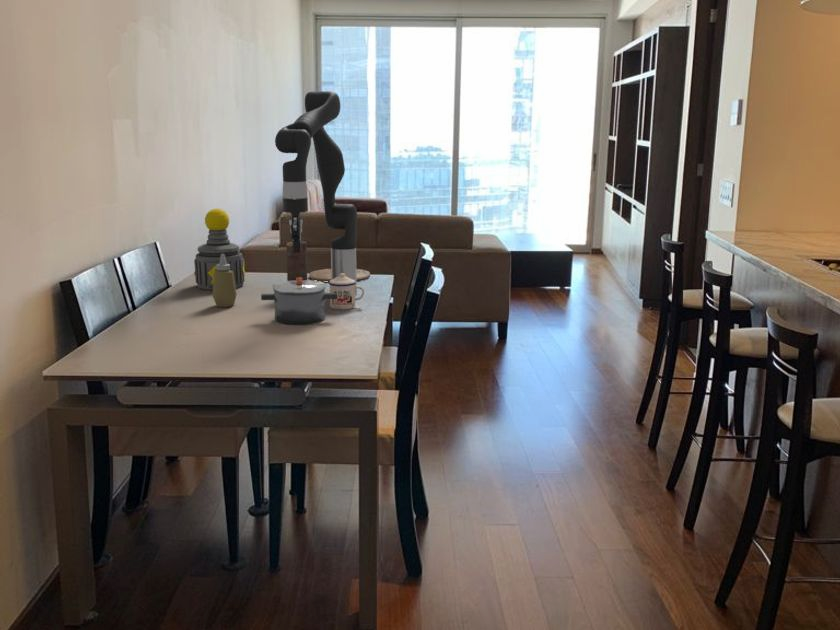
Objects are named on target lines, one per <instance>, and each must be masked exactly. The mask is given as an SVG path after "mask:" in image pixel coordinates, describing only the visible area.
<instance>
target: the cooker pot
mask: <svg viewBox="0 0 840 630" xmlns="http://www.w3.org/2000/svg"><path fill="white" fill-rule="evenodd" d="M325 290H326V289H324V290H322V291H319V292H314V293H304V294H288V293H279V292H276V291H274V290H273V293H261V295H260V299H261V301H273V302H274V321H275V322H276V323H278V324H280V325H281V324H282V325H288V326H304V325H305V326H307V325H314V323H315V324H318V323H322V322H323V321H326V300H330V299H337V293H330V292H325Z"/></svg>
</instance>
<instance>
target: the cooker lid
mask: <svg viewBox="0 0 840 630" xmlns="http://www.w3.org/2000/svg"><path fill="white" fill-rule="evenodd" d="M272 290H273V292H274V291H276V292H279V293H288V294H304V293H314V292H319V291H322V290H326V282H319V281H314V280H311V279H310V280H308V279H307V280H302V278H301V277H298V278H296V280H294V281H287V280H285V281H279V282H276V283H274V284H273V285H272Z"/></svg>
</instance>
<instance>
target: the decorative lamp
mask: <svg viewBox="0 0 840 630" xmlns="http://www.w3.org/2000/svg"><path fill="white" fill-rule="evenodd" d="M229 217H230V216H229V215H228V213H227V212H226V211H225V210H223V209H221V208H213V209H210V210H209V211H207V213H206V215H205V217H204V224H205V226H206V228H207V229H208V234H207V236H206V237H207V240H206V243H203V244H201V245H199V246H198V247H197V252H198V253H196V255H195V258H194V261H193V263H194V272H193V275H194V277H195V283H196V285H197V287H198V288H199V289H201V290H204V291H205V290H206V291H213V280H214V272H215V271H217V270H216V265H217V264H219V262H220V256H221V254H224V255H225V258H226V262H227V264H230V270H231V271H233V274H234V280H235V287H236V289H238V288H241V287H242V286H244V283H245V281H246V280H245V277H246V276H245V275H246V270H245V259H244V257H243V253H242V252H240V245H238V244H236V243H233V242H231V241H230V239H229V235H228V234H227V233H228V232H227V229H228V227H229V224H230V218H229Z"/></svg>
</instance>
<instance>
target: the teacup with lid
mask: <svg viewBox="0 0 840 630" xmlns="http://www.w3.org/2000/svg"><path fill="white" fill-rule="evenodd" d="M355 283H356V282H355V280H353V279H350V278H348V277H346V276H345V274H344V273H341V274H339V277H336V278H335V279H333V280H330V282H329V283H328V285H329V293H337V299H329V301H330V302H329V306H330V308H331V309H333V310H351V309H354V308H355V307H356V301H360V300H361V299H363V297H364V295H365V289H364V288H363V287H362V286H360V285H357V286H355ZM355 288H357V289H360V290H361V292H362V293H361V295H360V296H359V297H356V294H355Z"/></svg>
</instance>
